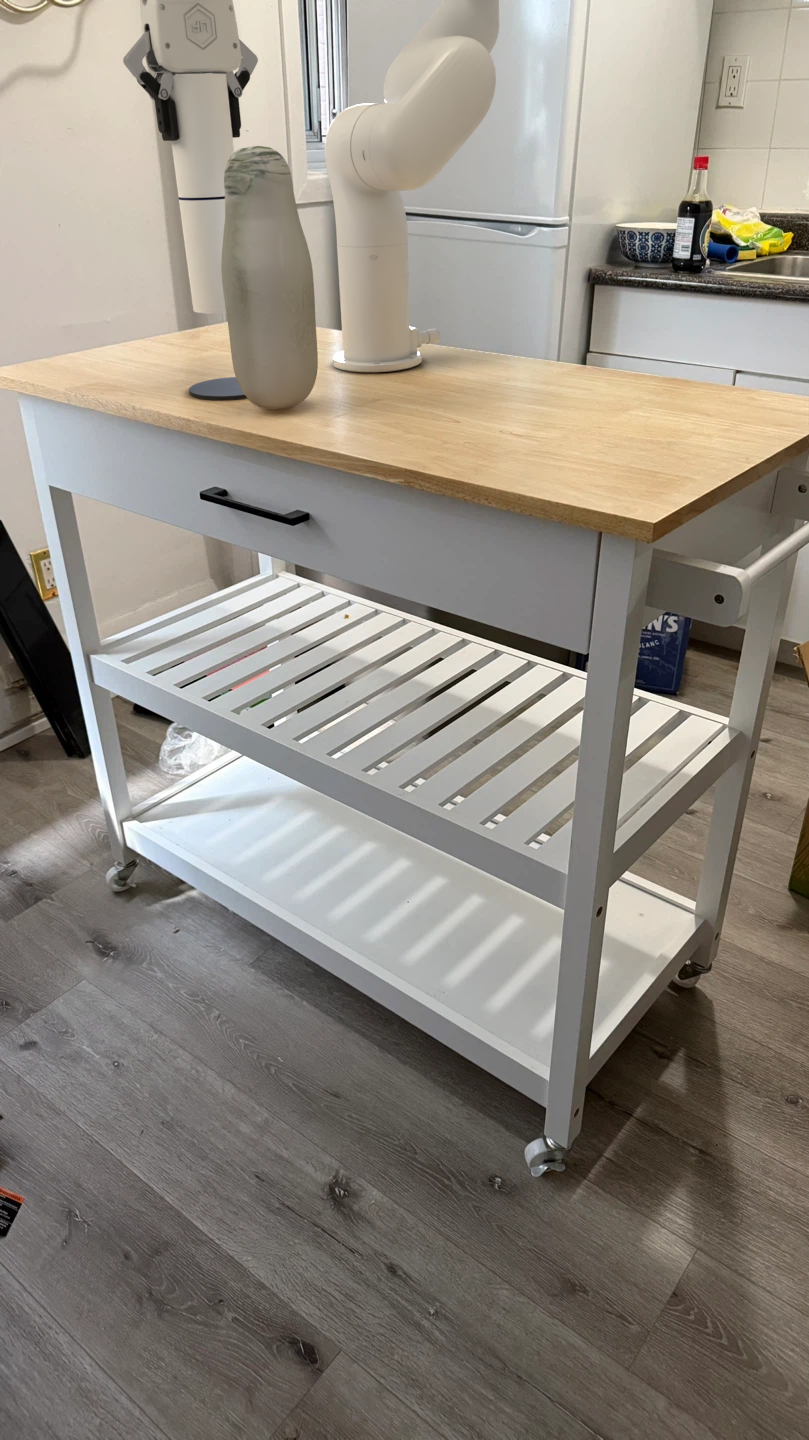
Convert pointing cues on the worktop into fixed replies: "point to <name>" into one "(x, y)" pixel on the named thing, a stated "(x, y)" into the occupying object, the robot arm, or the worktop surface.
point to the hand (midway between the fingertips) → (201, 137)
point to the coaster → (217, 389)
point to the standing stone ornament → (267, 281)
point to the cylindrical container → (202, 180)
